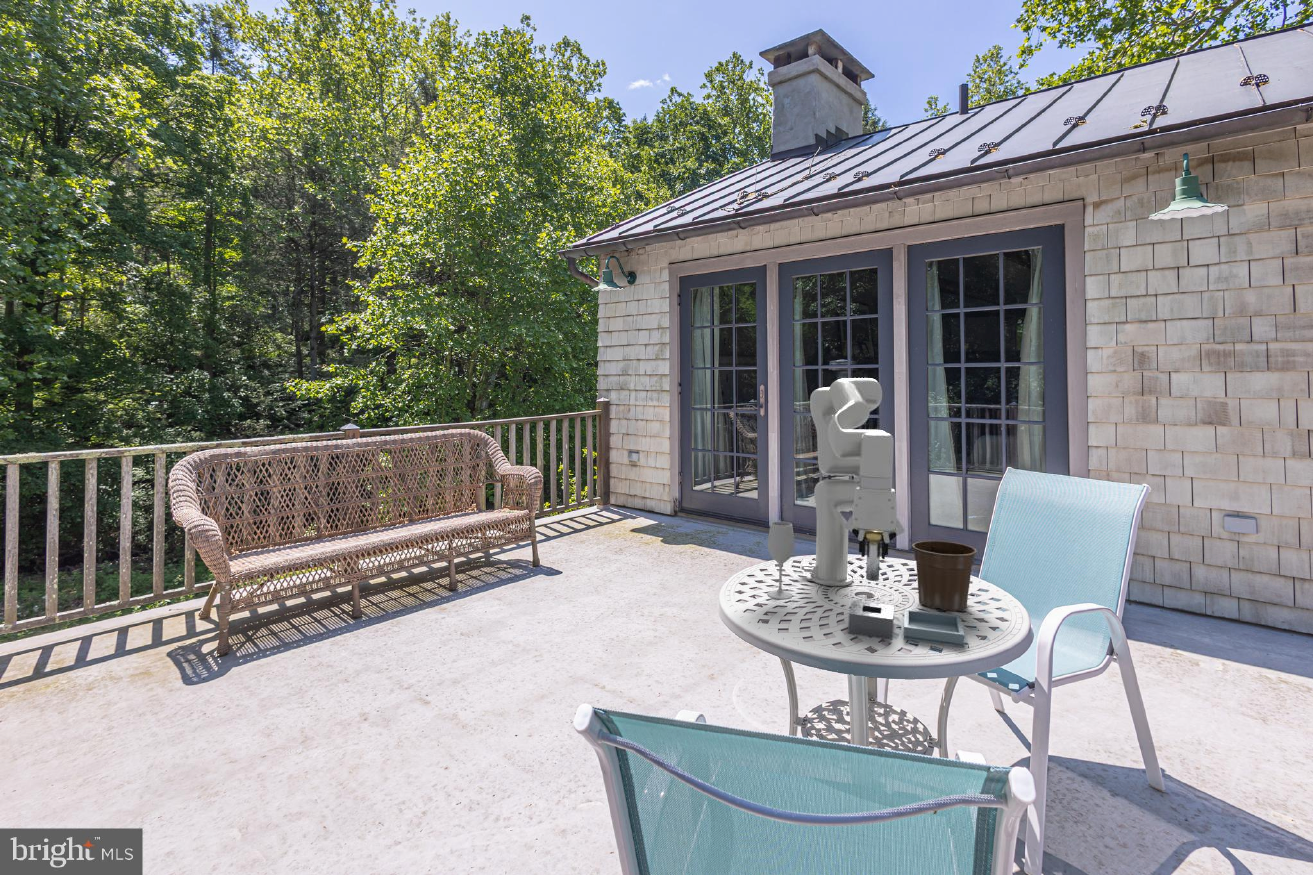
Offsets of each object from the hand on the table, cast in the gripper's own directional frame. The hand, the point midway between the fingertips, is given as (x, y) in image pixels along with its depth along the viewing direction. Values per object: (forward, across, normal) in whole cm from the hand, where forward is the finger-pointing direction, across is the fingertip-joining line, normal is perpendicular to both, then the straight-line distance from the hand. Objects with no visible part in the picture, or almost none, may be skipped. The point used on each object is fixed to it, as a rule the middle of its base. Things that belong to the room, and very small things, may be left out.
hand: (873, 555), depth 154 cm
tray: (+18, +14, +3) cm, 23 cm away
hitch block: (+18, 0, 0) cm, 18 cm away
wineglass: (+19, -26, +17) cm, 36 cm away
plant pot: (+19, +17, +27) cm, 37 cm away
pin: (+6, 0, 0) cm, 6 cm away
